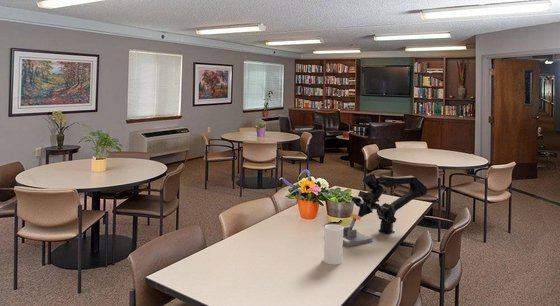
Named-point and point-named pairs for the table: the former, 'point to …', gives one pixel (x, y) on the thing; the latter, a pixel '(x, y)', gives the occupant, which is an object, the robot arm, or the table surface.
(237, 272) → the table surface
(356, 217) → the lever
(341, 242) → the cup
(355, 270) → the table surface
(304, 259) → the table surface
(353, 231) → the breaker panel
